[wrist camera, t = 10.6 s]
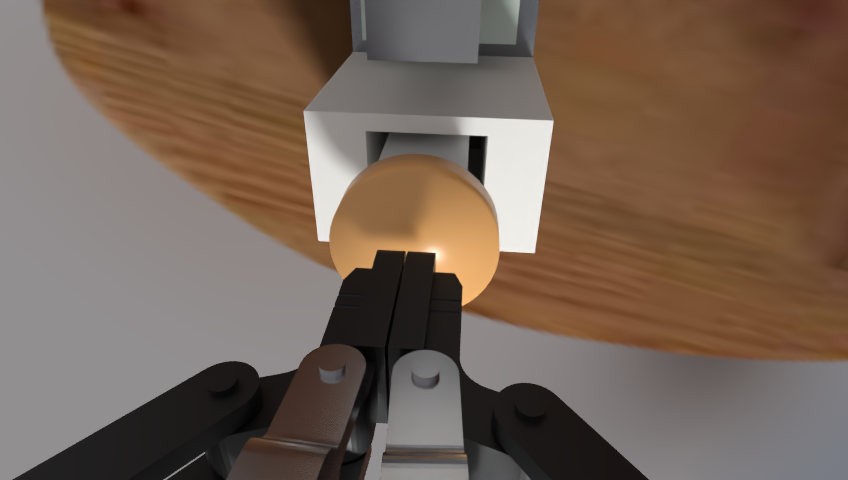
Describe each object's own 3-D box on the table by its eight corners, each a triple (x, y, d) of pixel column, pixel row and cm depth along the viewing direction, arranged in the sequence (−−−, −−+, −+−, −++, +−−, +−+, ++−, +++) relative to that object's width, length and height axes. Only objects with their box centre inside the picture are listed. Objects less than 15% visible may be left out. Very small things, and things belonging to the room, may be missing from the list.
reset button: (368, 88, 20) (321, 168, 14) (499, 92, 19) (507, 176, 14) (374, 202, 22) (336, 310, 16) (489, 208, 22) (492, 320, 16)
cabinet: (352, 51, 24) (303, 110, 17) (532, 57, 24) (553, 120, 17) (359, 155, 27) (318, 241, 20) (520, 162, 26) (534, 253, 19)
